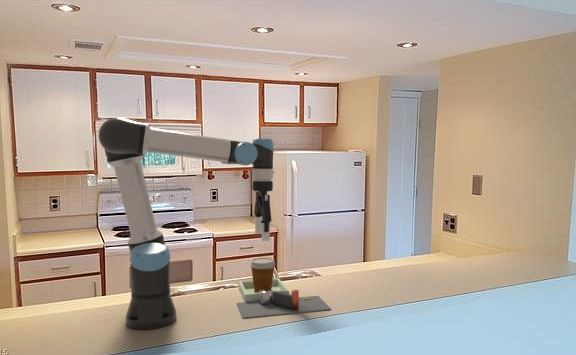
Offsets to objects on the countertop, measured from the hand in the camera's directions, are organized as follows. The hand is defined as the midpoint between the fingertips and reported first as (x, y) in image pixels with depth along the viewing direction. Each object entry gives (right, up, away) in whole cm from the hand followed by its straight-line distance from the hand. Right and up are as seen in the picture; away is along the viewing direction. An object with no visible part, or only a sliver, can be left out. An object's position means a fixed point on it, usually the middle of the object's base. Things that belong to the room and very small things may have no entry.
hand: (262, 237), depth 157 cm
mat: (+8, -22, -12) cm, 27 cm away
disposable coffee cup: (0, -21, +2) cm, 21 cm away
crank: (+9, -21, -14) cm, 27 cm away
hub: (+9, -22, -8) cm, 25 cm away
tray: (0, -21, +1) cm, 22 cm away
